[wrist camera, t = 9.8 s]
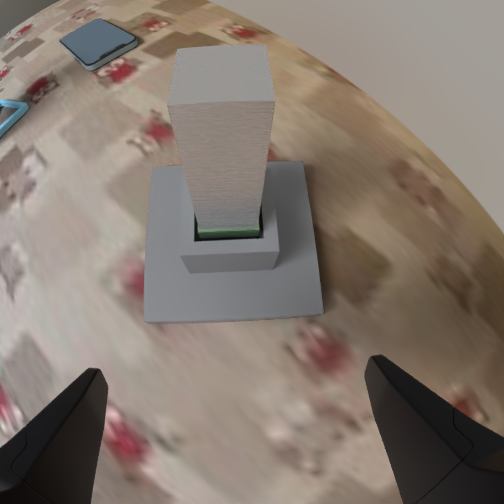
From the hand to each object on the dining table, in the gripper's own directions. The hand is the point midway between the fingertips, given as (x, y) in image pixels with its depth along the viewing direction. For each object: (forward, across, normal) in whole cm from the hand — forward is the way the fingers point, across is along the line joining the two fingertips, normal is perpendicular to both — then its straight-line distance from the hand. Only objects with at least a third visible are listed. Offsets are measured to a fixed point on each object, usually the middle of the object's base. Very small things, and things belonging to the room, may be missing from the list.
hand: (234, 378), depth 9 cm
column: (+11, 0, -2) cm, 12 cm away
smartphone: (+37, +18, -20) cm, 46 cm away
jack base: (+15, 0, +2) cm, 15 cm away
